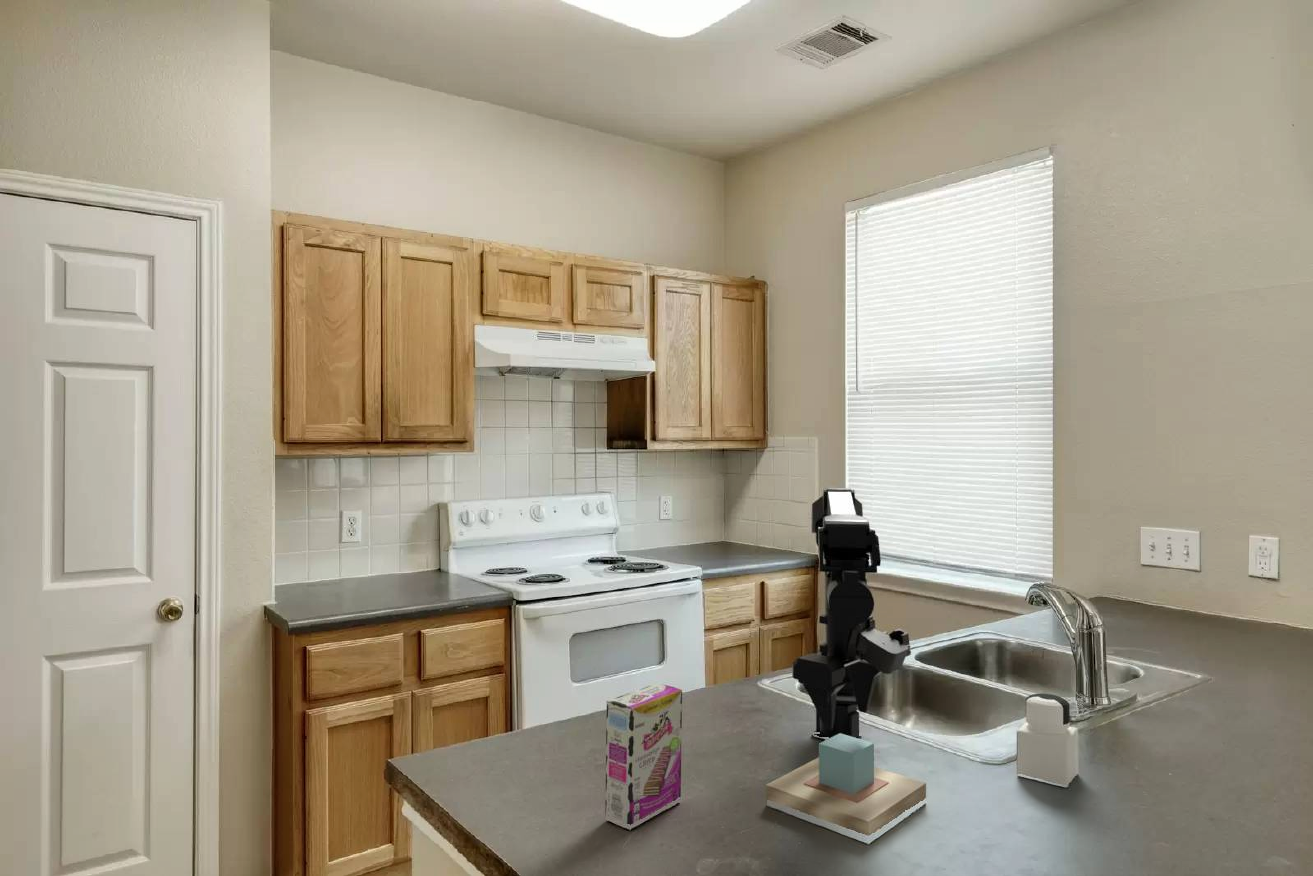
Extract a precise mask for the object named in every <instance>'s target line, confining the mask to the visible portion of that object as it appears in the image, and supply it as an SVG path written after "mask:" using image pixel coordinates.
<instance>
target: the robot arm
mask: <svg viewBox="0 0 1313 876" xmlns="http://www.w3.org/2000/svg"><path fill="white" fill-rule="evenodd" d="M822 490H823V491H822V496H820V497H819V498H818V499H816V500H815V501H814V502H812V504H811V533H812V534H815V542H816V546H817V547H818V566H819V567H818V569H819V572H821V573H823V572H824V614H821V615H819V622H818V623H819V624H823V625H824V642H823V643H821V644H819V645H818V646H819V649H818V652H817V653H813V652H811V653H808V654H805V655H803V656H799V657H797V658H796V659H795V660H794V661H793V662H792V663H791V665H792V666H791V676H792V678H793V680H794V679H795V680H797V682H798V683H799V684H802V685H803V688H804V689H805V690H806V692H807V694H808V695H809V698H810V699H811V704H813V707H814V708H815V727H816V728H815V730H814V731H813V732H820V734H814V735H817V736H819V737H829V738H831V737H833V736H835V735H837V734H839V733H841V734H844V735H848V736H851V737H855V738H856V737H858V736H859V732H860V713H865V714H866V713H868V710H869V706H870V703H871V700H872V697H873V694H874V690H875V687H876V685H877V682H878V679H879V677H880V675H881V674H885V675H891V674H893V672H895V671H900V670H902V668H903V664H904V662H905V660H906V658H907V657H909V656H911V654H912V651H911V644H910V637H909V636H910V635H909V632H907V631H905V630H904V629H903V628H898V629H894V630H893V631H891V633H889V632H888V631H883V632H882V631H880V630H878V629H876V620H875V619H874V616H872V614H873V612H874V607H875V600H874V596H873V593H872V591H871V590H870V588H869V585H868V576H867V575H866V574H877V573H878V567H881V559H882V558H881V551H880V550H881V549H880V542H879V540H880V539H879V536H878V535H877V534H876V530H875V529H874V528H872V527H870V522H869V520H868V519H867V517H866V516H864V515H863V514H864V513H863V510H864V509H863V503H861V502H860V501H859V500H858V498H856V494H855V493H856V492H855V489H851V488H850V487H827V488H825V489H822ZM859 712H860V713H859ZM858 738H859V737H858Z"/></svg>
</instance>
